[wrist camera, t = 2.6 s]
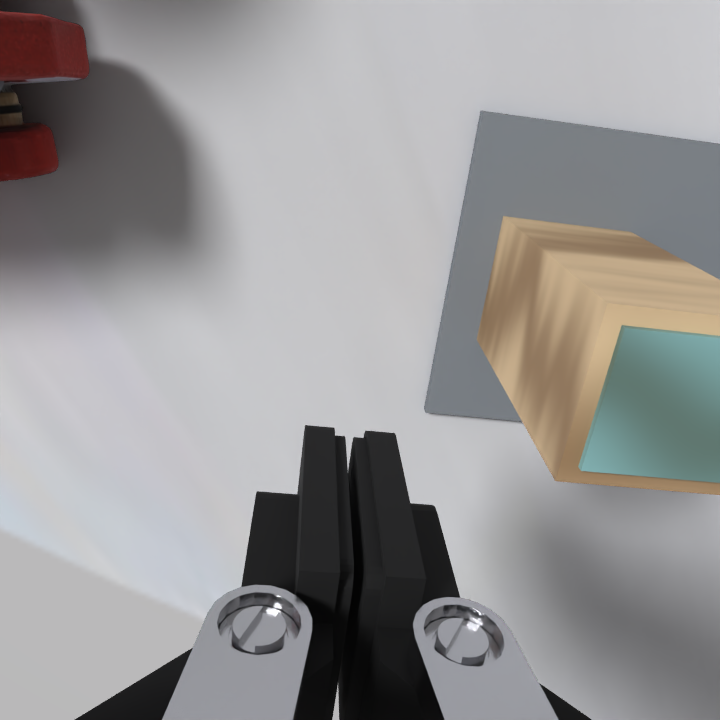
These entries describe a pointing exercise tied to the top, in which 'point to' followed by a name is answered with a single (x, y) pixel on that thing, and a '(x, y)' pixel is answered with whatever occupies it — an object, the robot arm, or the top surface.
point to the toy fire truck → (33, 65)
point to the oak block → (607, 355)
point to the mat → (568, 206)
